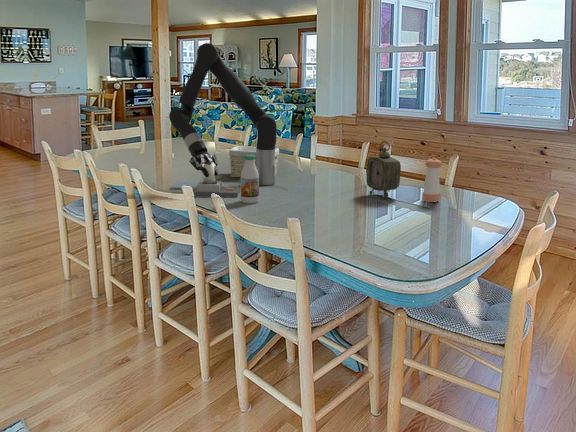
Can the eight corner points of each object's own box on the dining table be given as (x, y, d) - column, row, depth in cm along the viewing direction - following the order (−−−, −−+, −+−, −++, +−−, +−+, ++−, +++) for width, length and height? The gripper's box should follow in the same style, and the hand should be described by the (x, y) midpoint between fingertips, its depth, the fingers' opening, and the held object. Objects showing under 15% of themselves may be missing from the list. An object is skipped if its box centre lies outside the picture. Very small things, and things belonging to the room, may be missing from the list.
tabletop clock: (365, 193, 252) (368, 139, 246) (382, 192, 256) (385, 138, 249) (382, 200, 240) (386, 143, 233) (400, 199, 243) (404, 142, 237)
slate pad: (205, 183, 267) (205, 181, 267) (201, 190, 254) (201, 187, 253) (177, 183, 267) (177, 181, 267) (171, 189, 254) (171, 187, 253)
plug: (216, 185, 248) (215, 160, 245) (214, 187, 243) (214, 162, 240) (205, 185, 248) (204, 160, 245) (203, 187, 243) (202, 162, 240)
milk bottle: (237, 201, 234) (236, 154, 229) (252, 198, 238) (252, 153, 233) (247, 204, 228) (247, 157, 223) (262, 202, 233) (262, 155, 227)
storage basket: (279, 174, 293) (280, 147, 289) (273, 180, 278) (273, 151, 274) (236, 172, 297) (236, 145, 294) (228, 178, 282) (227, 149, 278)
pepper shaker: (436, 199, 245) (440, 156, 240) (441, 202, 238) (445, 159, 233) (420, 198, 244) (423, 156, 239) (424, 202, 237) (428, 158, 232)
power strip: (239, 191, 253) (239, 180, 251) (237, 197, 241) (237, 186, 240) (196, 190, 253) (196, 179, 251) (192, 196, 241) (191, 185, 240)
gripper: (185, 141, 241) (202, 172, 236) (211, 138, 251) (228, 168, 246) (179, 152, 246) (195, 182, 241) (205, 148, 256) (221, 178, 251)
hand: (212, 175), depth 243 cm, fingers closed on plug, 4 cm apart
